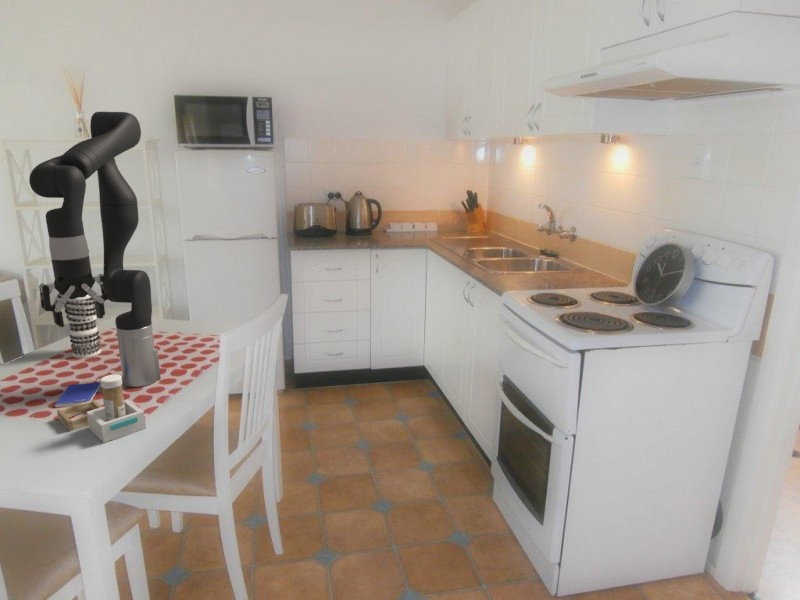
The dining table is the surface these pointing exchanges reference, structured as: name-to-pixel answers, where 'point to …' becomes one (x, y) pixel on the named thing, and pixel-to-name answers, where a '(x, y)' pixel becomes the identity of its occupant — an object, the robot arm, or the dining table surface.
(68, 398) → the hard drive
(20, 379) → the dining table surface
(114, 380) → the sprinkles bottle
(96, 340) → the decorative candle
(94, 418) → the block
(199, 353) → the dining table surface
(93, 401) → the wooden square frame
